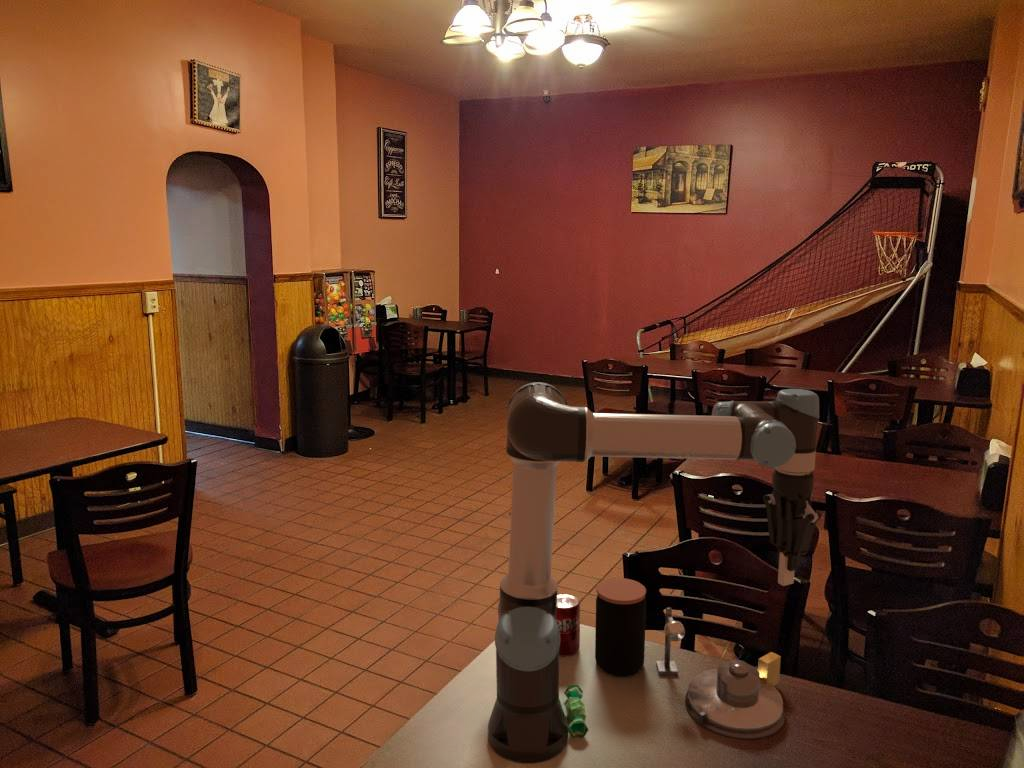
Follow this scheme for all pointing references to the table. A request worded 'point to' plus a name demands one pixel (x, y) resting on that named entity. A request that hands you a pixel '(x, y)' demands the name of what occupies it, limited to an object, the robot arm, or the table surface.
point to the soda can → (568, 624)
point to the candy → (576, 711)
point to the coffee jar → (620, 626)
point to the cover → (738, 684)
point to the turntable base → (733, 734)
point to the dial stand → (672, 633)
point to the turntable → (737, 718)
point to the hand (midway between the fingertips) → (785, 583)
